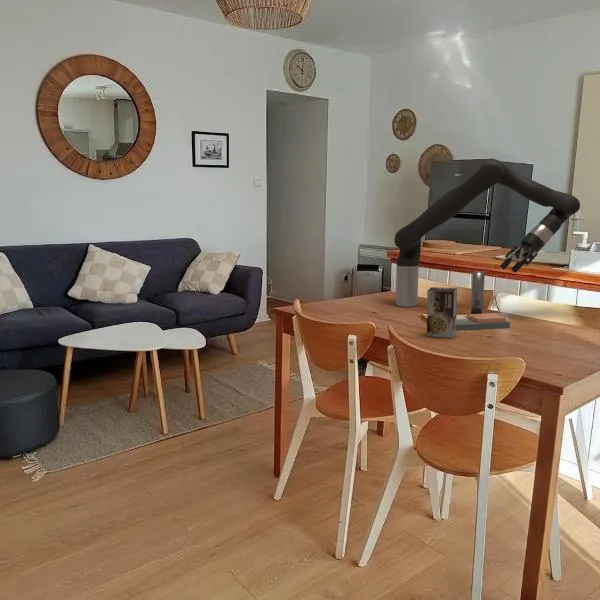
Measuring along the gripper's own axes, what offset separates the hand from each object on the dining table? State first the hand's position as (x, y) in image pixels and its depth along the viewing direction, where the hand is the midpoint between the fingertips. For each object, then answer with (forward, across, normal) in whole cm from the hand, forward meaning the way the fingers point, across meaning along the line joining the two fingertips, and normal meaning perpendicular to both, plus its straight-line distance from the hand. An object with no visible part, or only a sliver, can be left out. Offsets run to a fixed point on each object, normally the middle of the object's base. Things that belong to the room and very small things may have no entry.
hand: (507, 269), depth 221 cm
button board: (+26, +11, +1) cm, 28 cm away
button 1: (+29, +11, -5) cm, 32 cm away
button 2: (+21, +11, +3) cm, 24 cm away
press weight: (+21, 0, +5) cm, 22 cm away
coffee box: (+38, +21, -11) cm, 45 cm away
